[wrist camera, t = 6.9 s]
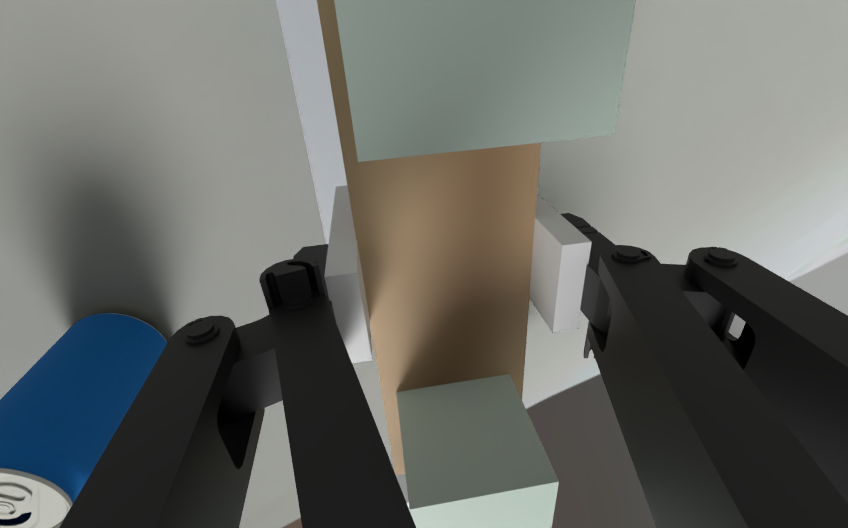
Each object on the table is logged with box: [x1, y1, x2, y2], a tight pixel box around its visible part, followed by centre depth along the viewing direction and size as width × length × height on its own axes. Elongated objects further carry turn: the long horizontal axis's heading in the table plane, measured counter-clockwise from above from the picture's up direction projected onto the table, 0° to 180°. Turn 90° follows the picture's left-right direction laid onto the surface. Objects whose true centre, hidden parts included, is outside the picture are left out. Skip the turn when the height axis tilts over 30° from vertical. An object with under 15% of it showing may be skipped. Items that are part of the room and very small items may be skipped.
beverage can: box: [0, 313, 167, 528], centre depth 24 cm, size 6×6×12 cm
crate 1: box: [334, 0, 636, 162], centre depth 7 cm, size 4×4×4 cm
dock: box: [276, 0, 372, 332], centre depth 24 cm, size 10×22×4 cm, turn 4°
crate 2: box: [396, 374, 559, 528], centre depth 13 cm, size 4×4×4 cm
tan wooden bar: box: [317, 0, 541, 475], centre depth 14 cm, size 5×18×5 cm, turn 4°
